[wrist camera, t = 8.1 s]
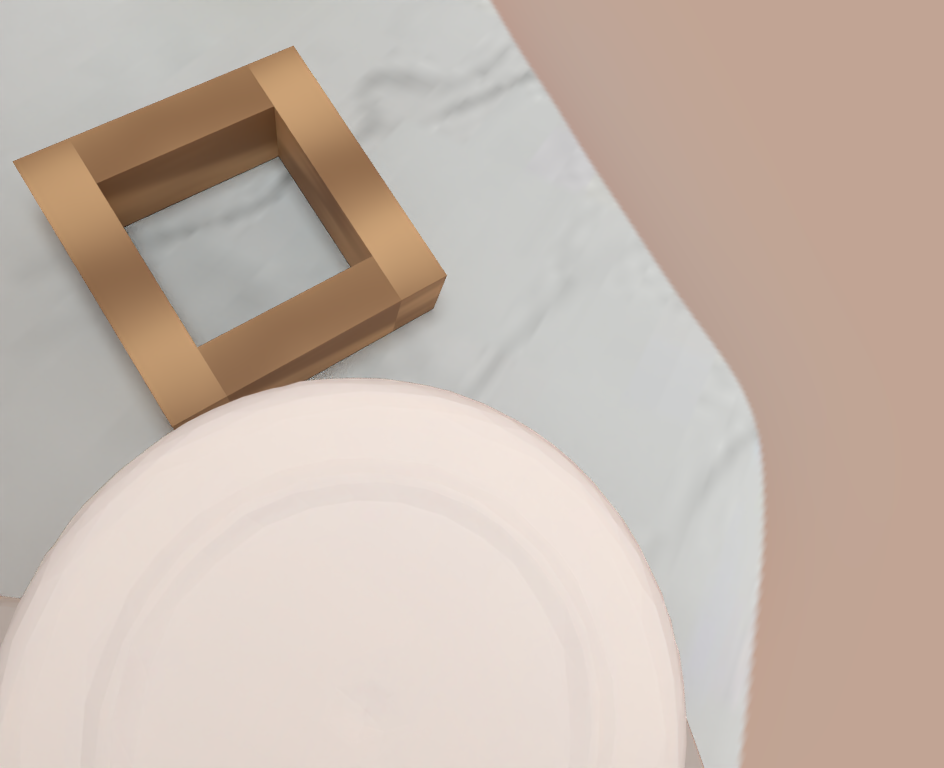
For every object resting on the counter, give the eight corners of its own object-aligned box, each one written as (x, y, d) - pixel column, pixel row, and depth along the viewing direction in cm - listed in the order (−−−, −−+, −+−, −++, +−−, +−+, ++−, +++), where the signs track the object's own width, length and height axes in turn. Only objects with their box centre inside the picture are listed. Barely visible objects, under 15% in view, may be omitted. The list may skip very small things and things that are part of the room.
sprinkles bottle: (461, 682, 18) (835, 890, 5) (269, 782, 16) (108, 1421, 4) (382, 498, 18) (530, 272, 6) (193, 581, 17) (-162, 525, 4)
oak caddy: (46, 209, 30) (12, 161, 27) (295, 100, 33) (293, 45, 30) (188, 445, 29) (172, 426, 25) (433, 308, 32) (446, 275, 29)
